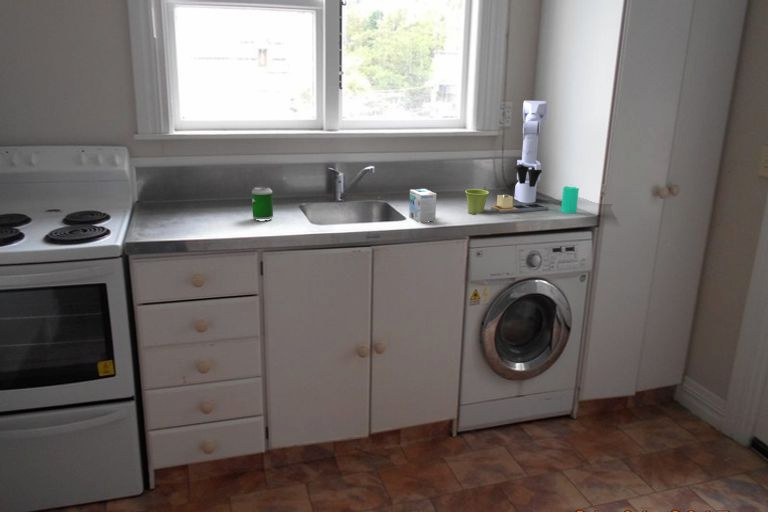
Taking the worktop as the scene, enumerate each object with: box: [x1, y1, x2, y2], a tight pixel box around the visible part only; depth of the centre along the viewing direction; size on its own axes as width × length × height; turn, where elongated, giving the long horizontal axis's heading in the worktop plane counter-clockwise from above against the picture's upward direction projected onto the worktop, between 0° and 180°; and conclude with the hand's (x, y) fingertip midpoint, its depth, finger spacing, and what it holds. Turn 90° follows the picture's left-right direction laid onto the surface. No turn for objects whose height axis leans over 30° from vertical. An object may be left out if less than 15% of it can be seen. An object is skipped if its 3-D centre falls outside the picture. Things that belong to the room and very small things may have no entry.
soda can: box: [251, 186, 274, 220], centre depth 246 cm, size 8×8×12 cm
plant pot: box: [464, 188, 490, 215], centre depth 263 cm, size 9×9×9 cm
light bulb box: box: [408, 188, 437, 223], centre depth 251 cm, size 11×7×11 cm, turn 22°
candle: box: [560, 183, 580, 214], centre depth 264 cm, size 6×6×12 cm
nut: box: [496, 194, 514, 209], centre depth 264 cm, size 4×4×6 cm
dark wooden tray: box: [490, 203, 549, 214], centre depth 267 cm, size 7×22×2 cm, turn 109°
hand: (527, 185), depth 267 cm, fingers open, 7 cm apart
